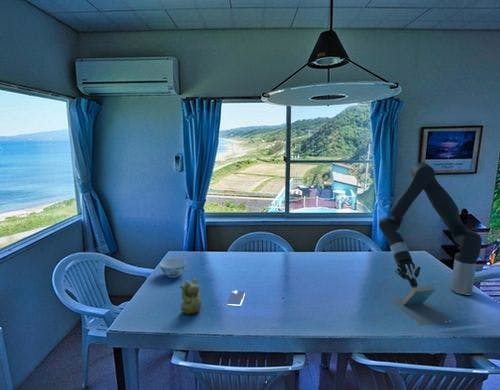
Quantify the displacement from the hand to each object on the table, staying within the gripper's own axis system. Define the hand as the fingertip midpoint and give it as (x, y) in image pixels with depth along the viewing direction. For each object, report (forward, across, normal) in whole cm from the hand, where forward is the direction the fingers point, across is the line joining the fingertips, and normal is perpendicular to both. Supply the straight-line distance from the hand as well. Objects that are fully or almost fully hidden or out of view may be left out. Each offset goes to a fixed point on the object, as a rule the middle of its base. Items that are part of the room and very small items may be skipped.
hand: (415, 287), depth 146 cm
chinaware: (-30, -116, +44) cm, 127 cm away
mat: (+10, 0, +4) cm, 11 cm away
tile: (+5, 0, +7) cm, 9 cm away
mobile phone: (-7, -82, +22) cm, 86 cm away
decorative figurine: (-1, -104, +15) cm, 105 cm away
